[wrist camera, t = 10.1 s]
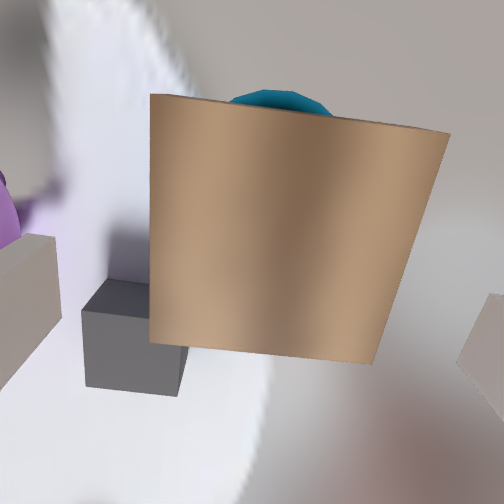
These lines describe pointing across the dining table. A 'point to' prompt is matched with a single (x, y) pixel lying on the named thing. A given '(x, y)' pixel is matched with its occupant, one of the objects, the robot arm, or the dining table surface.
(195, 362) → the dining table surface
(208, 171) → the block
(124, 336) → the block
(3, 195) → the teapot
